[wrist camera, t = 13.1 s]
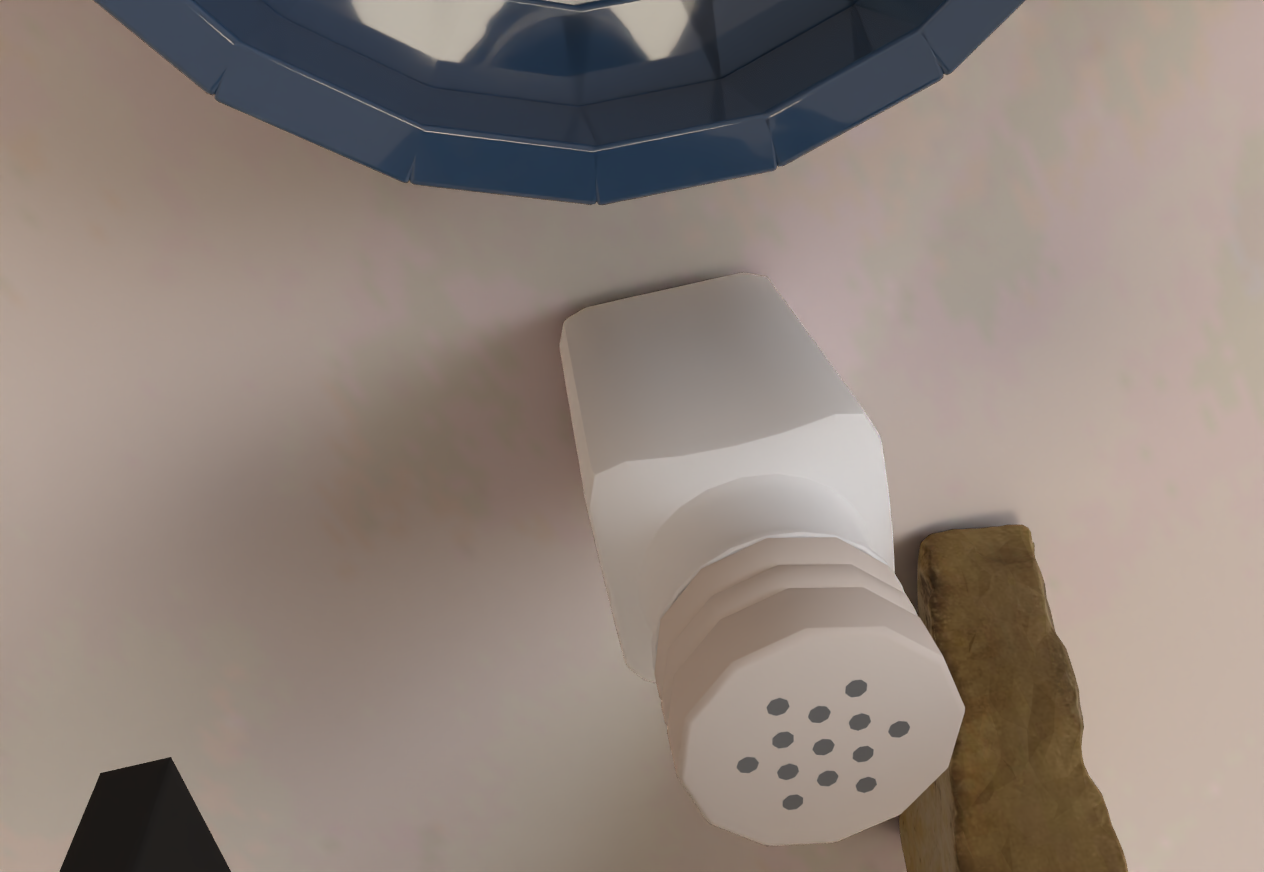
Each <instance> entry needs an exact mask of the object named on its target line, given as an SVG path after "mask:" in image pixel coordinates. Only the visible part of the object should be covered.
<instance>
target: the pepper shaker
mask: <svg viewBox="0 0 1264 872" xmlns="http://www.w3.org/2000/svg"><path fill="white" fill-rule="evenodd" d="M559 348H560V354H561V360H562V366H563V372H564V378H565V384H566V390H567V396H568V401H569V407H570V413H571V419H572V425H573V431H574V437H575V443H576V449H577V455H578V461H579V467H580V473H581V479H582V485H583V491H584V497H585V503H586V507H587V511H588V516H589V520H590V524H591V528H592V532H593V537H594V541H595V545H596V549H597V553H598V558H599V562H600V566H601V570H602V574H603V578H604V582H605V586H606V590H607V595H608V599H609V602H610V606H611V610H612V614H613V618H614V622H615V626H616V630H617V634H618V638H619V641H620V645H621V649H622V653H623V656H624V660H625V663H626V665H627V666H628V668H630V669H631V670H632V671H633V672H635V673H636V674H637V675H638V676H640V677H641V678H642V679H643V680H646V681H649V682H653V683H656V684H657V688H658V693H659V697H660V699H661V700H662V702H661V706H662V711H663V716H664V720H665V724H666V725H667V734H668V739H669V743H670V748H671V752H672V757H673V761H674V766H675V771H676V775H677V777H678V778H679V780H680V781H681V783H682V784H683V786H684V787H685V789H686V790H687V792H688V793H689V795H690V796H691V798H692V799H693V801H694V802H695V804H696V805H697V807H698V808H699V810H700V811H701V813H702V814H703V816H704V817H705V819H706V820H707V822H708V823H709V824H711V825H714V826H717V827H719V828H722V829H724V830H727V831H729V832H732V833H734V834H737V835H739V836H742V837H744V838H747V839H749V840H752V841H755V842H757V843H760V844H762V845H765V846H780V845H799V844H818V843H836V842H838V841H840V840H843V839H845V838H847V837H849V836H852V835H854V834H856V833H859V832H861V831H863V830H866V829H868V828H870V827H873V826H875V825H877V824H880V823H882V822H884V821H887V820H889V819H891V818H894V817H896V816H898V815H900V814H902V813H903V812H904V811H905V810H906V809H907V808H908V807H909V806H910V805H911V804H912V803H913V802H914V801H915V800H916V799H917V798H918V797H919V796H920V795H921V794H922V793H923V792H924V791H925V790H926V789H927V788H928V787H929V786H930V785H931V784H932V783H933V782H934V781H935V780H936V779H937V778H938V777H939V776H940V775H941V774H942V773H943V772H944V771H945V770H946V769H947V768H948V766H949V763H950V760H951V756H952V753H953V750H954V746H955V743H956V740H957V736H958V733H959V729H960V726H961V723H962V719H963V716H964V713H965V706H964V704H963V702H962V699H961V697H960V695H959V692H958V690H957V688H956V685H955V683H954V681H953V678H952V676H951V674H950V671H949V669H948V667H947V664H946V662H945V660H944V657H943V655H942V654H941V652H940V650H939V649H938V647H937V645H936V644H935V642H934V640H933V639H932V637H931V635H930V634H929V632H928V630H927V629H926V627H925V625H924V624H923V622H922V620H921V619H920V617H918V615H917V613H916V610H915V609H914V607H913V605H912V604H911V602H910V600H909V599H908V597H907V595H906V594H905V593H904V590H903V586H902V585H901V583H900V581H899V580H898V578H897V577H896V575H895V565H894V545H893V529H892V519H891V509H890V498H889V489H888V483H887V475H886V468H885V461H884V454H883V447H882V441H881V436H880V434H879V433H878V431H877V430H876V428H875V427H874V425H873V423H872V422H871V420H870V419H869V417H868V416H867V414H866V412H865V411H864V409H863V408H862V406H861V405H860V404H859V402H858V401H857V399H856V398H855V397H854V395H853V394H852V393H851V391H850V390H849V388H848V387H847V386H846V384H845V383H844V382H843V380H842V379H841V377H840V376H839V375H838V373H837V372H836V371H835V369H834V368H833V366H832V365H831V364H830V362H829V361H828V360H827V358H826V357H825V355H824V354H823V353H822V351H821V350H820V348H819V347H818V346H817V344H816V343H815V342H814V340H813V339H812V337H811V336H810V335H809V333H808V332H807V331H806V329H805V328H804V326H803V325H802V324H801V322H800V321H799V320H798V318H797V317H796V315H795V314H794V313H793V311H792V310H791V309H790V307H789V306H788V304H787V303H786V302H785V300H784V299H783V298H782V296H781V295H780V293H779V292H778V291H777V289H776V288H775V287H774V285H773V284H772V282H771V281H770V280H769V278H768V277H767V276H762V275H756V274H749V273H743V272H741V273H737V274H733V275H728V276H724V277H719V278H715V279H710V280H706V281H701V282H697V283H692V284H688V285H683V286H679V287H674V288H670V289H665V290H661V291H656V292H652V293H648V294H643V295H639V296H634V297H630V298H625V299H621V300H616V301H612V302H607V303H603V304H599V305H594V306H590V307H585V308H584V309H582V310H581V311H579V312H577V313H575V314H574V315H572V316H570V317H568V318H567V319H566V320H565V321H564V323H563V329H562V334H561V339H560V344H559Z"/></svg>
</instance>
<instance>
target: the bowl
mask: <svg viewBox="0 0 1264 872" xmlns="http://www.w3.org/2000/svg"><path fill="white" fill-rule="evenodd" d="M93 1H94V2H95V3H97V4H98V5H99V6H100V7H101V8H103V9H104V10H105V11H106V12H108V13H109V14H110V15H111V16H112V17H114V18H115V19H116V20H117V21H119V22H120V23H121V24H122V25H124V26H125V27H126V28H127V29H128V30H130V31H131V32H132V33H133V34H135V35H136V36H137V37H138V38H139V39H141V40H142V41H143V42H144V43H146V44H147V45H148V46H149V47H151V48H152V49H153V50H154V51H155V52H157V53H158V54H159V55H160V56H162V57H163V58H164V59H165V60H167V61H168V62H169V63H170V64H171V65H173V66H174V67H175V68H176V69H178V70H179V71H180V72H181V73H182V74H184V75H185V76H186V77H187V78H189V79H190V80H191V81H192V82H194V83H195V84H196V85H197V86H198V87H200V88H201V89H202V90H203V91H205V92H206V93H208V94H210V95H214V96H215V99H216V100H217V101H218V102H220V103H222V104H224V105H227V106H229V107H231V108H233V109H236V110H238V111H240V112H243V113H245V114H247V115H249V116H252V117H254V118H256V119H259V120H261V121H263V122H265V123H268V124H270V125H272V126H275V127H277V128H279V129H282V130H284V131H286V132H288V133H291V134H293V135H295V136H298V137H300V138H302V139H304V140H307V141H309V142H311V143H314V144H316V145H318V146H320V147H323V148H325V149H327V150H330V151H332V152H334V153H336V154H339V155H341V156H343V157H346V158H348V159H350V160H352V161H355V162H357V163H359V164H362V165H364V166H366V167H368V168H371V169H373V170H375V171H378V172H380V173H382V174H384V175H387V176H389V177H391V178H394V179H396V180H398V181H400V182H403V183H407V182H408V181H410V183H412V184H414V185H420V186H429V187H437V188H446V189H455V190H464V191H472V192H481V193H490V194H498V195H507V196H516V197H525V198H533V199H542V200H551V201H559V202H568V203H577V204H586V205H593V204H595V203H596V202H597V203H598V204H599V205H606V204H611V203H616V202H621V201H626V200H631V199H636V198H641V197H646V196H651V195H656V194H661V193H666V192H671V191H676V190H681V189H686V188H691V187H696V186H701V185H706V184H711V183H716V182H721V181H726V180H731V179H736V178H741V177H746V176H751V175H756V174H761V173H766V172H771V171H774V170H776V168H777V166H778V167H779V166H785V165H786V164H788V163H790V162H792V161H794V160H796V159H797V158H799V157H801V156H803V155H805V154H807V153H808V152H810V151H812V150H814V149H816V148H818V147H819V146H821V145H823V144H825V143H827V142H829V141H830V140H832V139H834V138H836V137H838V136H840V135H841V134H843V133H845V132H847V131H849V130H851V129H852V128H854V127H856V126H858V125H860V124H862V123H863V122H865V121H867V120H869V119H871V118H873V117H874V116H876V115H878V114H880V113H882V112H884V111H885V110H887V109H889V108H891V107H893V106H895V105H896V104H898V103H900V102H902V101H904V100H906V99H907V98H909V97H911V96H913V95H915V94H917V93H918V92H920V91H922V90H924V89H926V88H928V87H929V86H931V85H933V84H935V83H937V82H939V81H940V80H941V79H942V78H943V74H945V75H948V74H950V73H952V72H953V71H954V70H955V69H956V68H957V67H958V66H959V65H960V64H961V63H962V62H963V61H964V60H965V59H966V58H967V57H968V56H969V55H970V54H971V53H972V52H973V51H974V50H975V49H976V48H977V47H978V46H979V45H980V44H981V43H982V42H983V41H985V40H986V39H987V38H988V37H989V36H990V35H991V34H992V33H993V32H994V31H995V30H996V29H997V28H998V27H999V26H1000V25H1001V24H1002V23H1003V22H1004V21H1005V20H1006V19H1007V18H1008V17H1009V16H1010V15H1011V14H1012V13H1013V12H1014V11H1015V10H1016V9H1017V8H1018V7H1019V6H1020V5H1021V4H1022V3H1023V2H1024V1H1025V0H93Z"/></svg>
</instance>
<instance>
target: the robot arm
mask: <svg viewBox="0 0 1264 872" xmlns="http://www.w3.org/2000/svg"><path fill="white" fill-rule="evenodd" d="M60 872H231V871H230V869H229V867H228V865H227V863H226V861H225V859H224V857H223V855H222V854H221V852H220V850H219V848H218V846H217V844H216V842H215V840H214V838H213V836H212V834H211V833H210V831H209V829H208V827H207V825H206V823H205V821H204V819H203V817H202V815H201V813H200V812H199V810H198V808H197V806H196V804H195V802H194V800H193V798H192V796H191V794H190V792H189V791H188V789H187V787H186V785H185V783H184V781H183V779H182V777H181V775H180V773H179V771H178V770H177V768H176V766H175V764H174V762H173V760H172V758H171V757H169V758H165V759H160V760H156V761H152V762H147V763H143V764H139V765H134V766H130V767H125V768H121V769H117V770H112V771H108V772H103V773H100V776H99V778H98V780H97V783H96V785H95V788H94V790H93V792H92V795H91V797H90V800H89V802H88V804H87V807H86V809H85V812H84V814H83V816H82V819H81V821H80V824H79V826H78V828H77V831H76V833H75V836H74V838H73V840H72V843H71V845H70V848H69V850H68V852H67V855H66V857H65V860H64V862H63V864H62V867H61V869H60Z"/></svg>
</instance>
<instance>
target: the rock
mask: <svg viewBox="0 0 1264 872" xmlns="http://www.w3.org/2000/svg"><path fill="white" fill-rule="evenodd" d="M917 591H918V600H917V603H918V612H919V617H920V619H921V620H922V622H923V624H924V625H925V627H926V629H927V630H928V632H929V634H930V635H931V637H932V639H933V640H934V642H935V644H936V645H937V647H938V649H939V650H940V652H941V654H942V655H943V657H944V660H945V662H946V664H947V667H948V669H949V671H950V674H951V676H952V678H953V681H954V683H955V685H956V688H957V690H958V692H959V695H960V697H961V699H962V702H963V704H964V706H965V713H964V716H963V719H962V723H961V726H960V729H959V733H958V736H957V740H956V743H955V746H954V750H953V753H952V756H951V760H950V763H949V766H948V768H947V769H946V770H945V771H944V772H943V773H942V774H941V775H940V776H939V777H938V778H937V779H936V780H935V781H934V782H933V783H932V784H931V785H930V786H929V787H928V788H927V789H926V790H925V791H924V792H923V793H922V794H921V795H920V796H919V797H918V798H917V799H916V800H915V801H914V802H913V803H912V804H911V805H910V806H909V807H908V808H907V809H906V810H905V811H904V812H903V813H902V814H900V816H899V829H900V837H901V843H902V849H903V853H904V857H905V863H906V868H907V872H1128V869H1127V864H1126V859H1125V856H1124V853H1123V850H1122V847H1121V845H1120V843H1119V840H1118V838H1117V836H1116V833H1115V831H1114V829H1113V827H1112V825H1111V821H1110V817H1109V813H1108V810H1107V807H1106V804H1105V802H1104V799H1103V796H1102V794H1101V792H1100V791H1099V789H1098V788H1097V786H1096V785H1095V784H1094V782H1093V781H1092V779H1091V778H1090V776H1089V775H1088V772H1087V770H1086V768H1085V766H1084V762H1083V758H1082V750H1081V745H1082V734H1083V729H1084V725H1083V716H1082V711H1081V707H1080V700H1079V689H1078V685H1077V682H1076V678H1075V675H1074V671H1073V668H1072V665H1071V662H1070V659H1069V656H1068V653H1067V650H1066V648H1065V646H1064V645H1063V643H1062V642H1061V640H1060V639H1059V638H1058V636H1057V635H1056V633H1055V629H1054V625H1053V620H1052V616H1051V611H1050V608H1049V604H1048V601H1047V598H1046V590H1045V583H1044V580H1043V577H1042V574H1041V571H1040V569H1039V566H1038V564H1037V561H1036V559H1035V555H1034V543H1032V537H1031V532H1030V530H1029V528H1028V527H1026V526H1024V525H1004V526H998V527H987V528H977V529H952V530H948V531H944V532H940V533H934V534H931V535H928V537H927V538H926V539H925V540H924V541H923V542H922V543H921V544H920V550H919V557H918V579H917Z"/></svg>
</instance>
